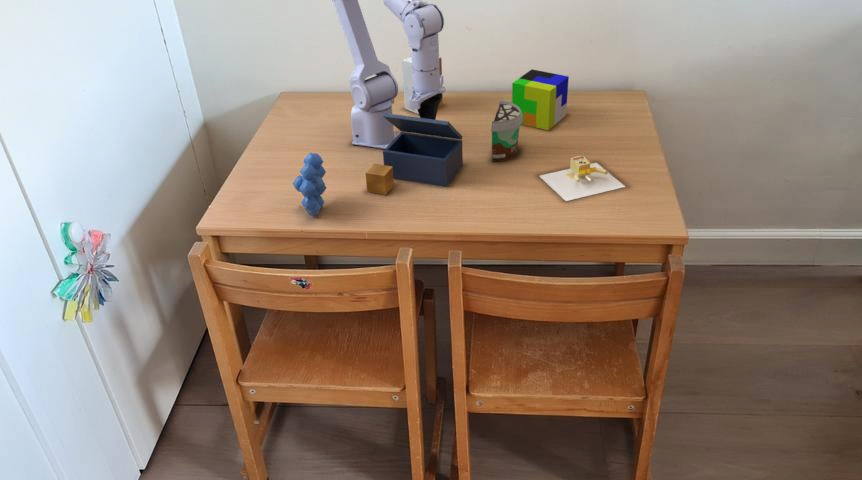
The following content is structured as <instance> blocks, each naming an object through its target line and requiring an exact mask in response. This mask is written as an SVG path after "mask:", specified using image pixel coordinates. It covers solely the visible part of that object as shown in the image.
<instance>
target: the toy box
mask: <svg viewBox="0 0 862 480" xmlns="http://www.w3.org/2000/svg"><path fill="white" fill-rule="evenodd" d="M399 133H400V134H399V135H398V136H397V137H396V138H395V139H394V140H393V141H392V142H391V143H390V144H389V145H388V146H387V147H386V148H385V149H382V159H383V165H386V166H393V175H394V180H401V181H408V182H414V183H419V184H426V185H434V186H439V187H445V188H448V187H449V185H450V184H451V182H452V181H453V180H454V178H455V177H456V176H457V174H458V172H459V171H460V170H461V169H462V167H463V166H464V159H463V158H464V157H463V155H464V153H463V139H462V140H460V139H453V138H446V137H438V136H431V135H424V134H417V133H409V132H402V131H400V132H399Z"/></svg>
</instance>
